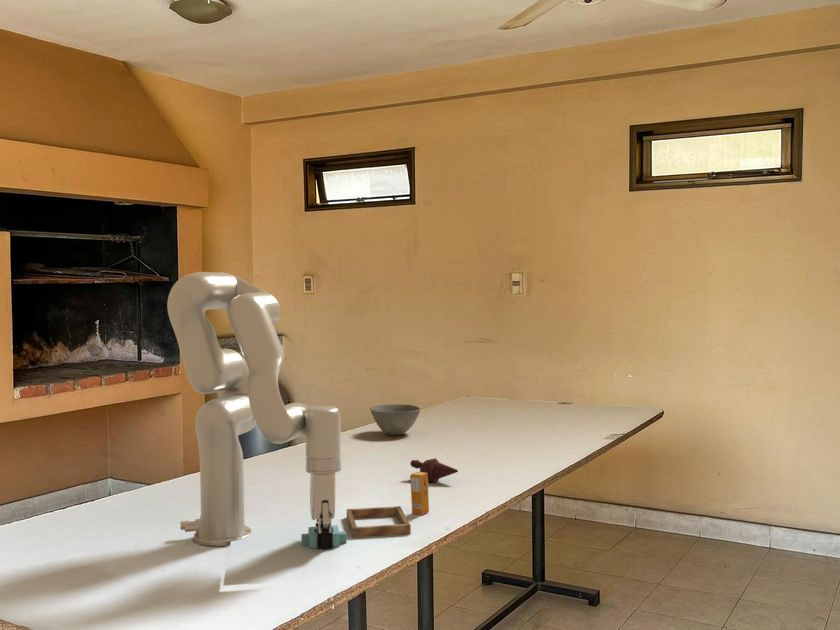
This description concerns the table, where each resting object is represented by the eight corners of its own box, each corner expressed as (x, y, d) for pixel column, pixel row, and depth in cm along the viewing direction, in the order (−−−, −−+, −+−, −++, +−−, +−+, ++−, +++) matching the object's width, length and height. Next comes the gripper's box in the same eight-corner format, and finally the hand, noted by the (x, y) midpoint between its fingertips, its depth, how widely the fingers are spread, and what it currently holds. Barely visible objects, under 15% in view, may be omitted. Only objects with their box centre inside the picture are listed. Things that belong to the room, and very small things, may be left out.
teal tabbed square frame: (302, 548, 170) (302, 535, 170) (301, 540, 175) (301, 527, 175) (347, 546, 172) (347, 533, 171) (344, 537, 177) (344, 524, 177)
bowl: (420, 439, 288) (420, 411, 288) (368, 439, 288) (368, 411, 288) (421, 429, 307) (421, 403, 306) (372, 429, 307) (372, 403, 307)
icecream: (463, 458, 230) (416, 458, 236) (452, 457, 223) (404, 457, 229) (462, 483, 228) (415, 482, 234) (452, 483, 222) (404, 482, 228)
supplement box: (417, 510, 201) (417, 470, 201) (429, 512, 199) (429, 472, 199) (410, 513, 198) (410, 473, 198) (421, 515, 196) (421, 475, 196)
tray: (352, 541, 177) (352, 528, 177) (346, 521, 192) (346, 509, 192) (410, 538, 180) (410, 525, 179) (400, 518, 194) (400, 506, 194)
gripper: (304, 455, 180) (305, 534, 181) (307, 474, 163) (308, 560, 164) (337, 454, 182) (338, 532, 183) (344, 472, 165) (344, 558, 166)
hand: (324, 545), depth 174 cm, fingers open, 5 cm apart
